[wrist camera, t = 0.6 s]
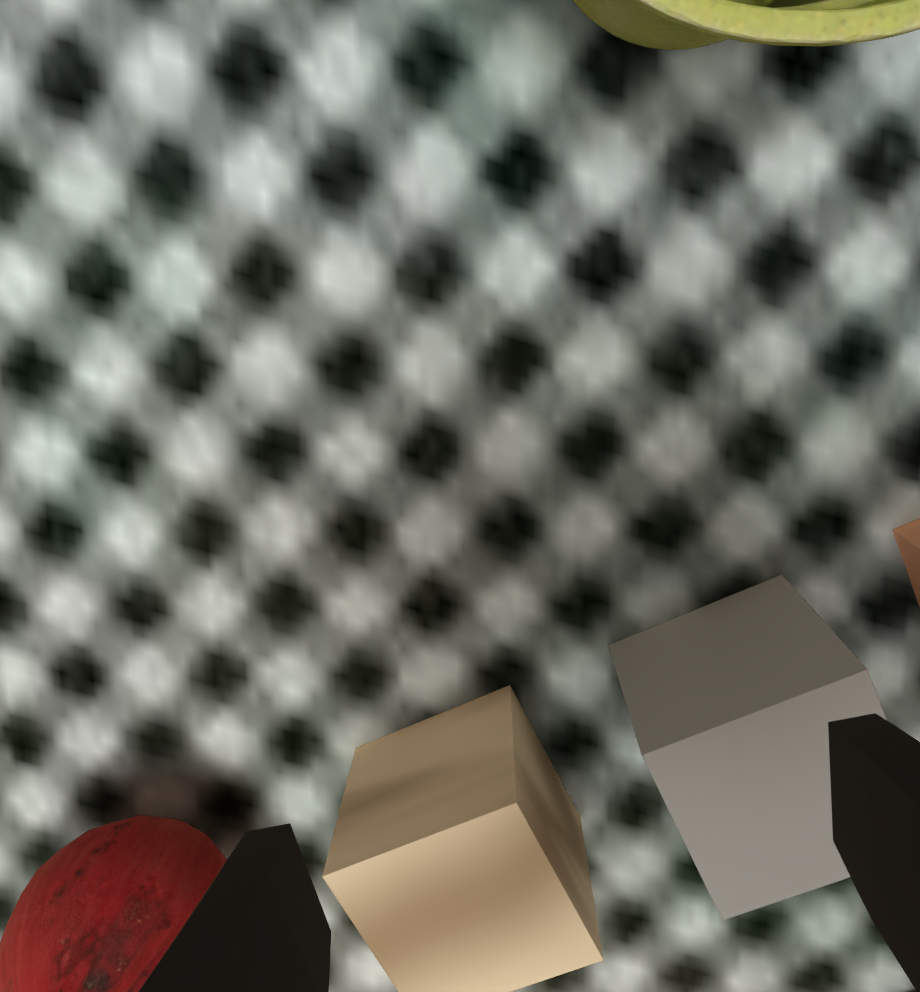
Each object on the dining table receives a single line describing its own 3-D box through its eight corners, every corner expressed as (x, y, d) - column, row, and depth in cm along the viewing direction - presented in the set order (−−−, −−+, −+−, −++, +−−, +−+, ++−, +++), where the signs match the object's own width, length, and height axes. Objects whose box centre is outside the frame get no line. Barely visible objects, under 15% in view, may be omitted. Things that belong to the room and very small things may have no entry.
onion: (134, 723, 23) (-43, 961, 15) (305, 814, 24) (219, 1083, 16) (57, 857, 24) (-138, 1132, 17) (219, 937, 25) (104, 1235, 18)
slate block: (839, 719, 22) (935, 848, 17) (673, 781, 23) (722, 920, 18) (780, 573, 21) (867, 669, 16) (607, 643, 22) (641, 754, 17)
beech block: (579, 815, 24) (603, 960, 19) (432, 870, 24) (418, 1022, 20) (510, 683, 22) (516, 802, 17) (356, 746, 23) (322, 875, 18)
